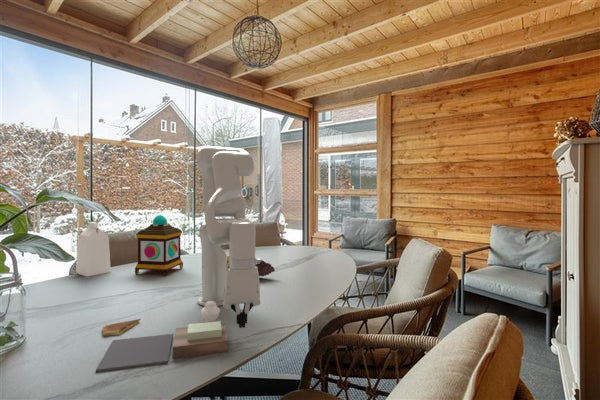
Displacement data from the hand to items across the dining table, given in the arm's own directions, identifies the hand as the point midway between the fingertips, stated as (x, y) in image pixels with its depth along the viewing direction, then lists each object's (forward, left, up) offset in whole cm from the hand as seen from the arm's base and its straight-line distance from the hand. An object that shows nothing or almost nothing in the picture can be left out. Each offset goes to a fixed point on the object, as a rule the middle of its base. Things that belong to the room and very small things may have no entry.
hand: (241, 325), depth 96 cm
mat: (0, -27, -4) cm, 28 cm away
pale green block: (0, -10, 0) cm, 10 cm away
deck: (0, -11, -4) cm, 12 cm away
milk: (-97, -65, -4) cm, 117 cm away
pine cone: (-64, +15, -4) cm, 66 cm away
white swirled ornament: (-16, -8, -4) cm, 19 cm away
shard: (-18, -37, -5) cm, 41 cm away
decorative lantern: (-91, -32, -4) cm, 97 cm away
